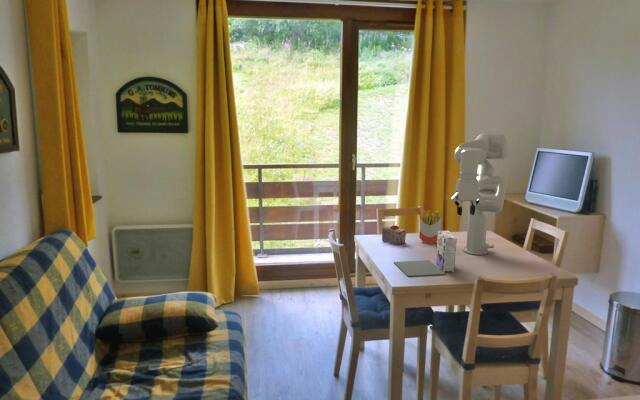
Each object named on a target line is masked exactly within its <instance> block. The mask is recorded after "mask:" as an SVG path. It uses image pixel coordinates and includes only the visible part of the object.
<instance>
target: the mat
mask: <svg viewBox="0 0 640 400" xmlns="http://www.w3.org/2000/svg"><path fill="white" fill-rule="evenodd" d="M393 264H394V265H395V266H396V267H397V268H398V269H399V270H400V271H401V272H402V273H403V274H404V275H405V276H406V277H408V278H413V277H430V276H433V277H434V276H445V275H447V272H443V271H442V270H441V269H440V267H439V266H438V265H435V264H434V263H433V262H432V261H430V260H425V259H424V260H407V261H406V260H405V261H393Z"/></svg>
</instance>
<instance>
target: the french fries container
mask: <svg viewBox="0 0 640 400" xmlns="http://www.w3.org/2000/svg"><path fill="white" fill-rule="evenodd" d="M439 214H440V213H439V211H438V210H437V211H435V210H433V211H432V213H431V210H429V209H428V210H427V211H426V210H422V215H421V216H420V225H419V235H418V236H419V239H420V240H421V241H422V243H426V244H430V245H431V244H432V245H434V244H436V243H437V238H438V231H442V215H439Z"/></svg>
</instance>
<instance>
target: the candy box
mask: <svg viewBox="0 0 640 400" xmlns="http://www.w3.org/2000/svg"><path fill="white" fill-rule="evenodd" d="M436 243H437V244H436V261H435V263H436V264H437V265H436V266H437V267H438V268H439V269H441V270H442V271H443V272H444V273H455V268H456V256H457V255H456V252H457V236H454V234H453V233H452V232H451V231H450V230H441V231H438V238H437V242H436Z"/></svg>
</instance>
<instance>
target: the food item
mask: <svg viewBox="0 0 640 400" xmlns="http://www.w3.org/2000/svg"><path fill="white" fill-rule="evenodd" d="M381 231H382V232H381V233H382V235H381V240H382V242H387V243H389V244H394V245H398V246H399V245H403V244H405V243H406V237H407V229H403V228H400V226H398V225H392V226H389V225H386V226H384V227H382V230H381Z"/></svg>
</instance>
